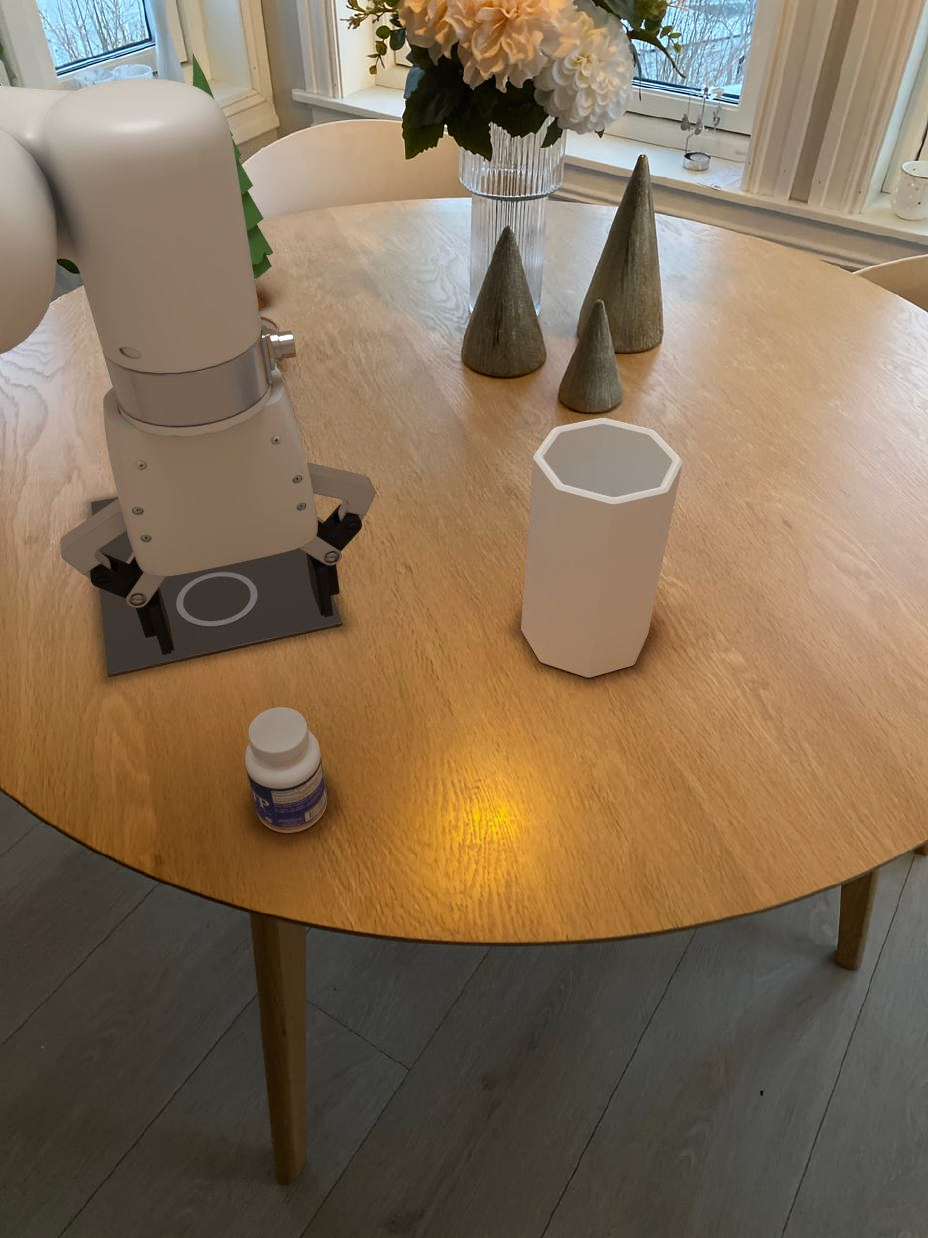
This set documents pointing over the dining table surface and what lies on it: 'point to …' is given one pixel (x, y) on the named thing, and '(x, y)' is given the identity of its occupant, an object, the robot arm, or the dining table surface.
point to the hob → (213, 608)
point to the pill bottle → (285, 771)
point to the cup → (596, 543)
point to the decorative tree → (243, 199)
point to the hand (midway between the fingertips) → (245, 620)
